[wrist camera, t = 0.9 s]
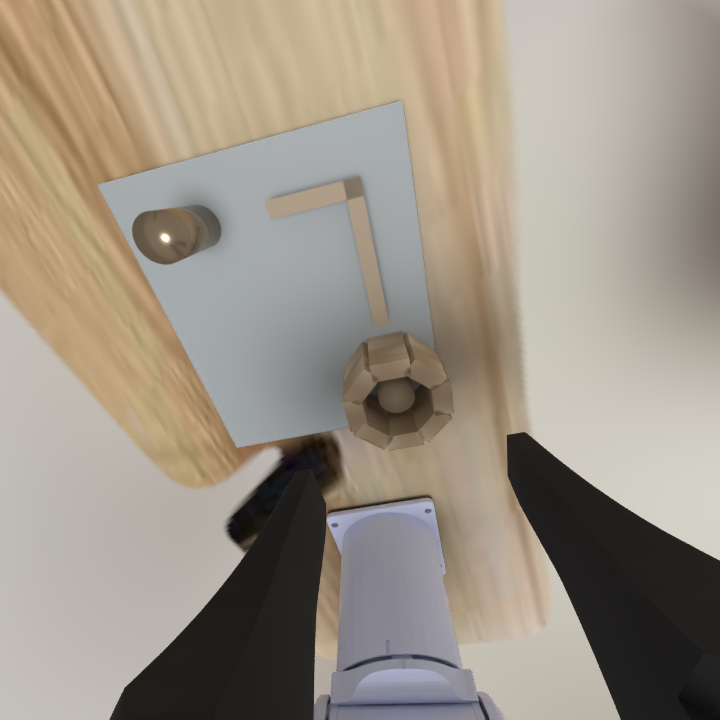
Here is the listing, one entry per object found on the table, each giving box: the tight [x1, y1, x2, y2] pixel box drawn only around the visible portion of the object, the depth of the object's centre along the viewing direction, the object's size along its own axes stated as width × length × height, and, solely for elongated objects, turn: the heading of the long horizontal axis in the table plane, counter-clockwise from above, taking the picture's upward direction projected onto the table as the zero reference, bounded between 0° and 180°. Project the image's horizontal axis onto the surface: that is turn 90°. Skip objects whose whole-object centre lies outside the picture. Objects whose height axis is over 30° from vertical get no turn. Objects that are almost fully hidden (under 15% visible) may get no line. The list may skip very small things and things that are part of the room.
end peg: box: [132, 205, 221, 265], centre depth 13 cm, size 2×2×4 cm
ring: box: [342, 331, 454, 450], centre depth 17 cm, size 5×5×3 cm
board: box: [98, 100, 435, 448], centre depth 16 cm, size 15×13×3 cm
